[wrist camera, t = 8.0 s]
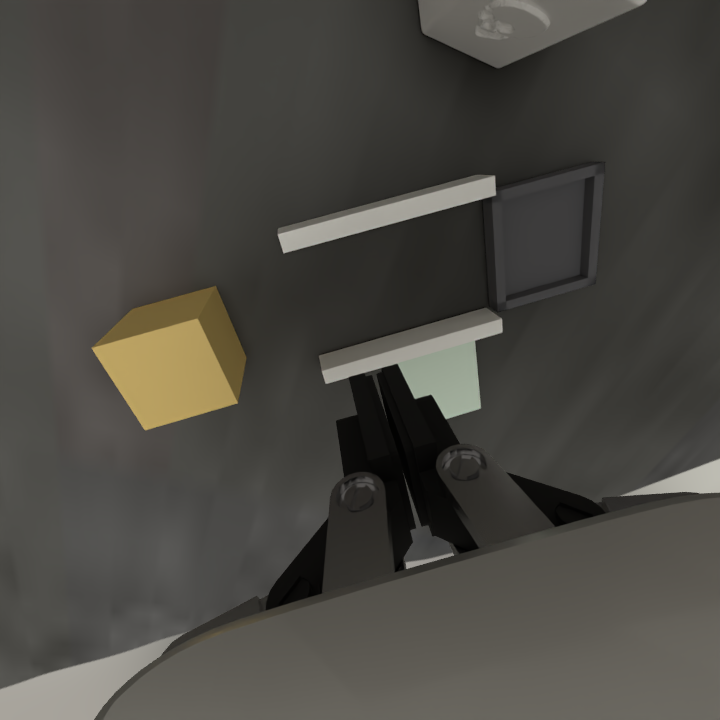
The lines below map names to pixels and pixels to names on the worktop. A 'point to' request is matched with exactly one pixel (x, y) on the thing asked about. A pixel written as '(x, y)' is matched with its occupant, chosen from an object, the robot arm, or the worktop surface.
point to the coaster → (446, 378)
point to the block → (175, 358)
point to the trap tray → (543, 235)
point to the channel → (384, 214)
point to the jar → (513, 24)
